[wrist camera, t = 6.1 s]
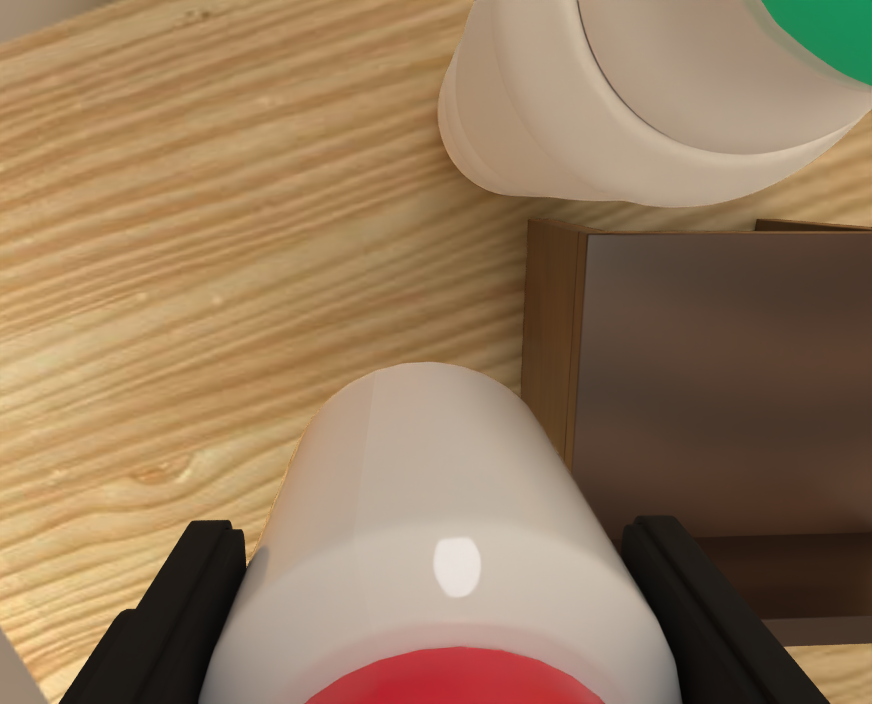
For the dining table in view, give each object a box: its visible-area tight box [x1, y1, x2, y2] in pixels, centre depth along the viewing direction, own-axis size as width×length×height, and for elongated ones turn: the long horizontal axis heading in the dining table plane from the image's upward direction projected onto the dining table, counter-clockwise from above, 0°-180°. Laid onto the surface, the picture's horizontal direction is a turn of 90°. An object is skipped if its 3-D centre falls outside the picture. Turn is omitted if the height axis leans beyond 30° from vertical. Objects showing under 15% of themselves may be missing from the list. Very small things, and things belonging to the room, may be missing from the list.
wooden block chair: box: [521, 219, 872, 647], centre depth 24 cm, size 12×12×14 cm
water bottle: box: [438, 0, 872, 208], centre depth 15 cm, size 7×7×25 cm
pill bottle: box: [198, 362, 683, 704], centre depth 10 cm, size 6×6×8 cm
